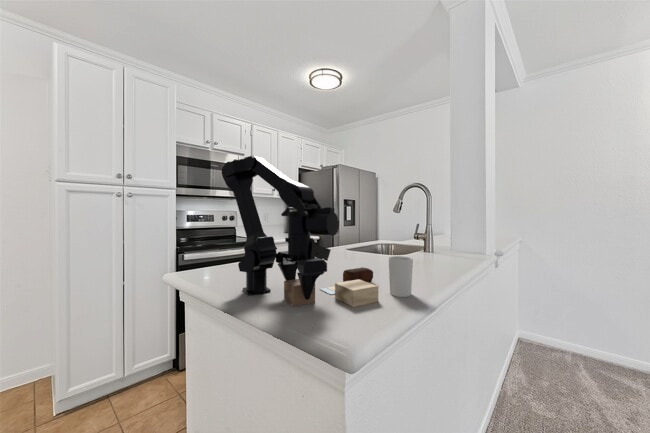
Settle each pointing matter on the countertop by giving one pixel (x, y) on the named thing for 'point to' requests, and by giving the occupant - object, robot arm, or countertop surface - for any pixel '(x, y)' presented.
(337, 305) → the countertop surface
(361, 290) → the base block
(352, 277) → the brick
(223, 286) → the countertop surface
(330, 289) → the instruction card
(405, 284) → the drinking glass
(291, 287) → the walnut block
